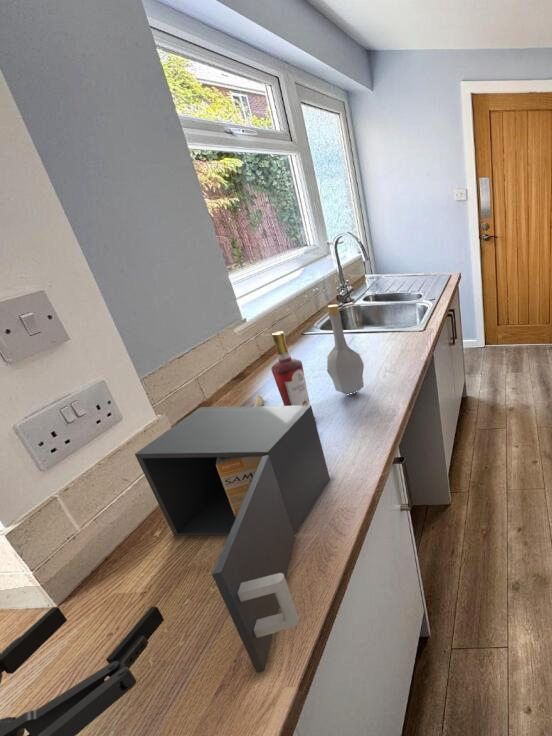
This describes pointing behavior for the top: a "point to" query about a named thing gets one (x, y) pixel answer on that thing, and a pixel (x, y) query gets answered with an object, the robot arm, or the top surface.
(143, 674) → the top surface
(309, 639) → the top surface
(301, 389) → the liquor
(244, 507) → the cabinet door
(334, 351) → the bottle
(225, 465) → the supplement box
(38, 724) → the robot arm
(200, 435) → the cabinet
